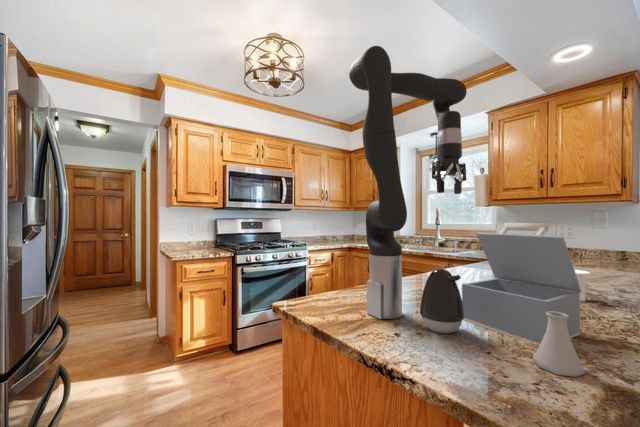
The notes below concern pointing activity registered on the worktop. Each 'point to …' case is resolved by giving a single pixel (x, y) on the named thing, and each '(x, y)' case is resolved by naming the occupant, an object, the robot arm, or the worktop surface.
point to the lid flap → (530, 257)
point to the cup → (582, 282)
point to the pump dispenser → (441, 302)
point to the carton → (518, 308)
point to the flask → (558, 348)
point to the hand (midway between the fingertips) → (449, 193)
